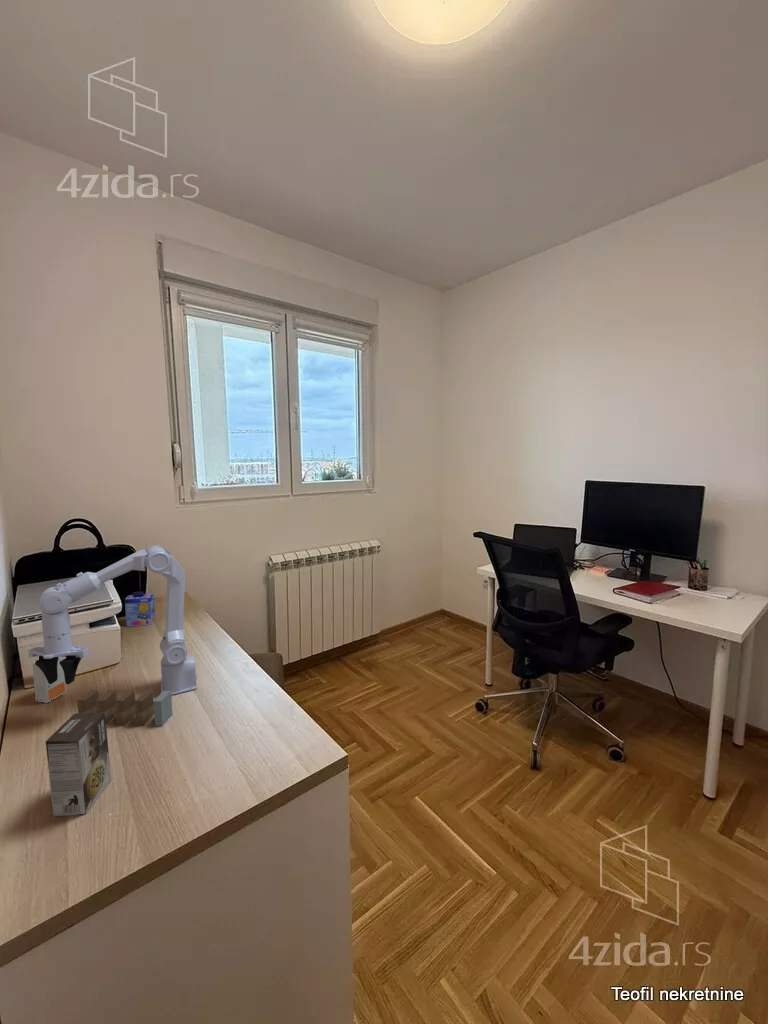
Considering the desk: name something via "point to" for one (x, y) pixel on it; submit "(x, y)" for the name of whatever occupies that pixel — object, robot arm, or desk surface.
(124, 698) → the domino
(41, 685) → the skincare box
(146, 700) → the domino
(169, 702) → the domino
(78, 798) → the coffee box
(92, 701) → the domino
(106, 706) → the domino
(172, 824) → the desk surface
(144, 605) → the ink cartridge box
